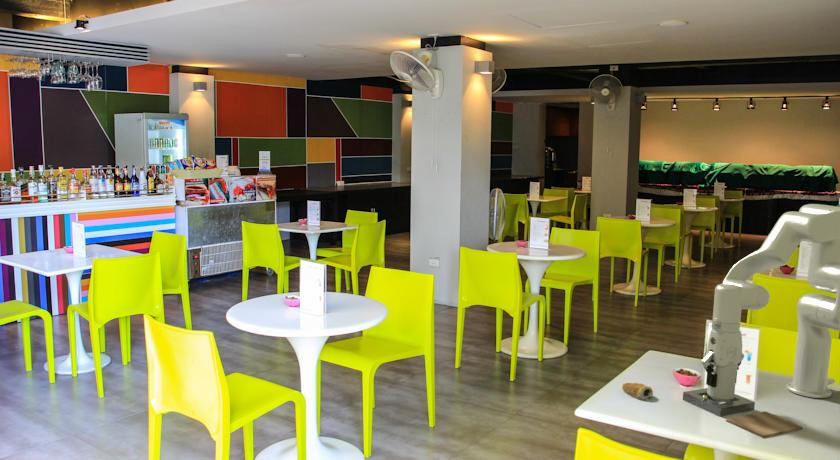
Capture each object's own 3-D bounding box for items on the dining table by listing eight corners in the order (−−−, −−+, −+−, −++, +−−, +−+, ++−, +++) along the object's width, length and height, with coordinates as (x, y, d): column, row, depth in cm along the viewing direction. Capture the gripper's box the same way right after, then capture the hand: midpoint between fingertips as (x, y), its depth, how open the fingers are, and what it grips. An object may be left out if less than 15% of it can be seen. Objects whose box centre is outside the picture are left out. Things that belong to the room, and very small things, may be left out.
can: (709, 400, 212) (712, 361, 210) (704, 392, 219) (707, 353, 217) (736, 403, 210) (739, 363, 209) (730, 394, 218) (734, 355, 216)
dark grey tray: (715, 394, 224) (716, 383, 224) (754, 410, 212) (755, 398, 211) (682, 399, 218) (683, 388, 218) (720, 416, 206) (721, 404, 205)
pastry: (616, 391, 224) (617, 379, 224) (631, 388, 228) (632, 376, 227) (640, 401, 216) (641, 388, 216) (655, 397, 220) (656, 385, 219)
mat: (765, 413, 209) (765, 411, 209) (802, 429, 199) (803, 427, 199) (726, 421, 202) (726, 419, 202) (762, 437, 192) (763, 435, 192)
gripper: (714, 332, 205) (710, 392, 207) (757, 326, 212) (752, 384, 215) (694, 326, 211) (689, 383, 214) (736, 320, 219) (731, 376, 221)
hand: (721, 383), depth 214 cm, fingers closed on can, 7 cm apart
